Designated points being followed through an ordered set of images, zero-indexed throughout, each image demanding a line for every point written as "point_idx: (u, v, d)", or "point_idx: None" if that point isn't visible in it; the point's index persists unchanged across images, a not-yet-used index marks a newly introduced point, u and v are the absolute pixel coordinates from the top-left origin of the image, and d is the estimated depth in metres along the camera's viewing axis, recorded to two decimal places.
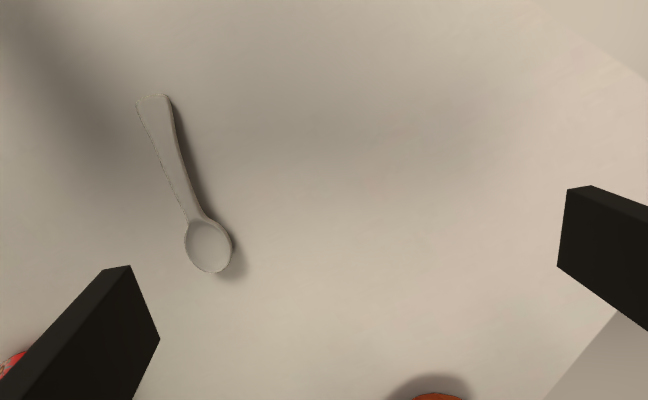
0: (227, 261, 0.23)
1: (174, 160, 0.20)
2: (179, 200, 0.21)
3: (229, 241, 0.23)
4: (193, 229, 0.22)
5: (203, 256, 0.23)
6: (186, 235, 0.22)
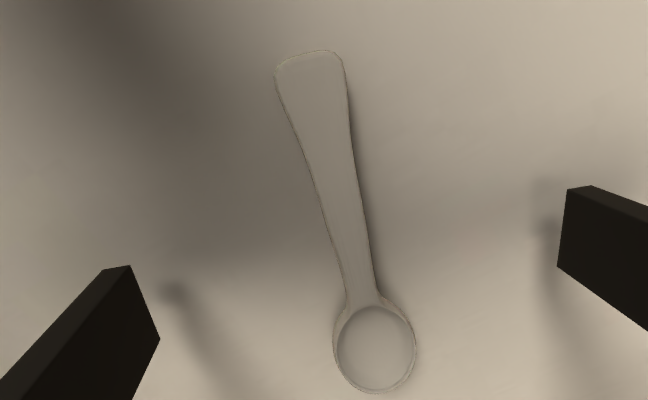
0: (405, 372, 0.12)
1: (349, 193, 0.09)
2: (346, 272, 0.10)
3: (414, 338, 0.12)
4: (352, 318, 0.12)
5: (359, 362, 0.13)
6: (340, 331, 0.12)
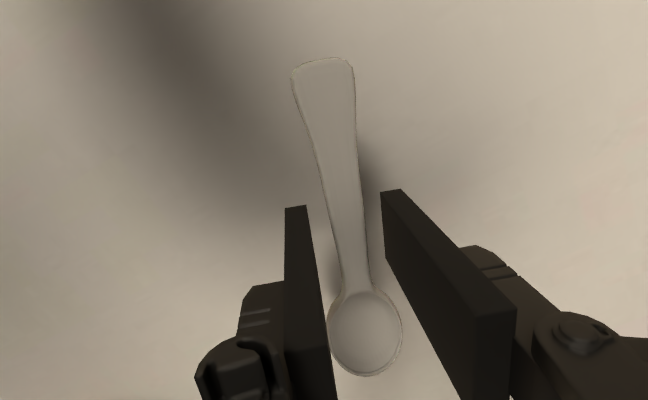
0: (391, 357, 0.13)
1: (351, 187, 0.10)
2: (344, 259, 0.11)
3: (401, 325, 0.13)
4: (345, 304, 0.13)
5: (349, 345, 0.14)
6: (334, 314, 0.12)
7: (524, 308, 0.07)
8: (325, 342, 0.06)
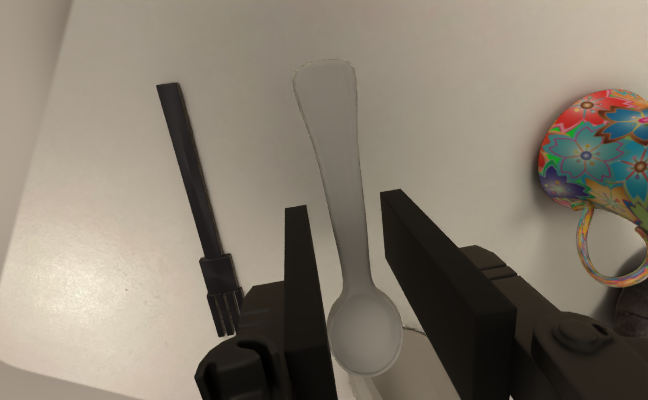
0: (392, 358, 0.13)
1: (352, 188, 0.10)
2: (345, 260, 0.11)
3: (402, 326, 0.13)
4: (346, 305, 0.13)
5: (350, 346, 0.14)
6: (335, 315, 0.12)
7: (524, 308, 0.07)
8: (325, 342, 0.06)
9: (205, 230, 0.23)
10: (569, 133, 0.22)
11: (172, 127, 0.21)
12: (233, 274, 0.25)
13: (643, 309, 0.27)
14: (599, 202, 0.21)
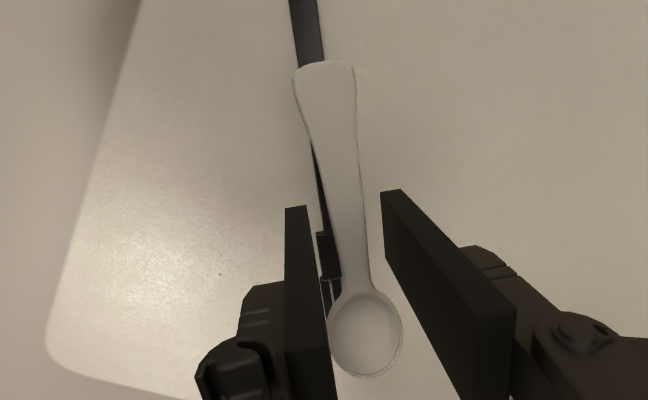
0: (391, 359, 0.13)
1: (352, 188, 0.10)
2: (344, 261, 0.11)
3: (401, 327, 0.13)
4: (345, 305, 0.13)
5: (349, 347, 0.13)
6: (334, 316, 0.12)
7: (524, 308, 0.07)
8: (325, 342, 0.06)
9: None
10: None
11: (302, 50, 0.15)
12: None
13: None
14: None
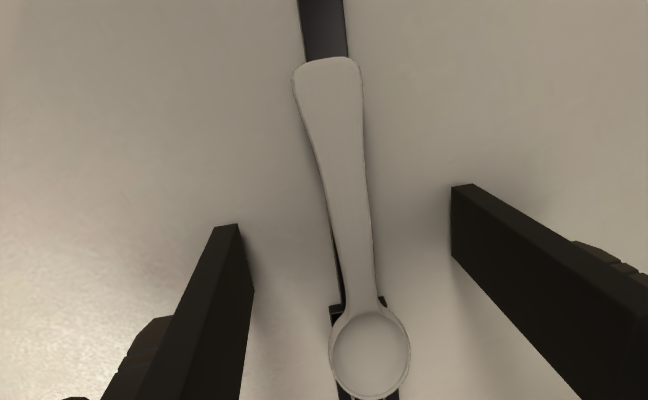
0: (398, 380, 0.12)
1: (357, 199, 0.09)
2: (349, 277, 0.10)
3: (409, 346, 0.12)
4: (349, 323, 0.12)
5: (353, 367, 0.13)
6: (337, 335, 0.12)
7: None
8: None
9: None
10: None
11: (313, 33, 0.09)
12: None
13: None
14: None
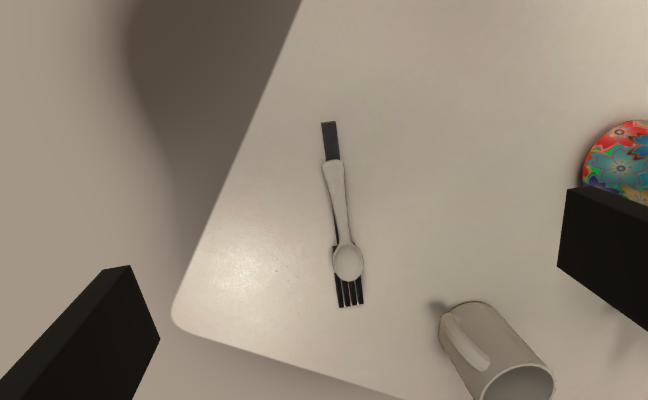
0: (359, 273, 0.32)
1: (342, 204, 0.30)
2: (339, 230, 0.30)
3: None
4: (340, 250, 0.32)
5: (342, 269, 0.33)
6: (335, 254, 0.32)
7: None
8: None
9: None
10: (607, 152, 0.31)
11: (328, 152, 0.30)
12: None
13: None
14: None
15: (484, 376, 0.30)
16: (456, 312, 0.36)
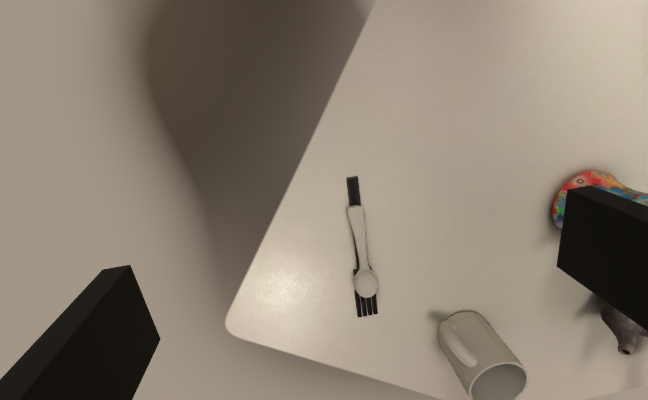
0: (375, 291, 0.41)
1: (363, 239, 0.38)
2: (360, 259, 0.39)
3: None
4: (360, 273, 0.40)
5: (361, 288, 0.41)
6: (356, 277, 0.40)
7: None
8: None
9: None
10: None
11: (352, 199, 0.38)
12: None
13: None
14: None
15: (473, 371, 0.38)
16: (452, 320, 0.45)
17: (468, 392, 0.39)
